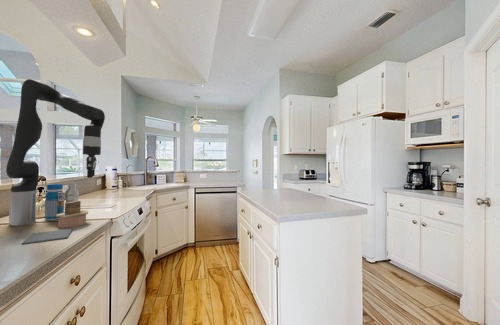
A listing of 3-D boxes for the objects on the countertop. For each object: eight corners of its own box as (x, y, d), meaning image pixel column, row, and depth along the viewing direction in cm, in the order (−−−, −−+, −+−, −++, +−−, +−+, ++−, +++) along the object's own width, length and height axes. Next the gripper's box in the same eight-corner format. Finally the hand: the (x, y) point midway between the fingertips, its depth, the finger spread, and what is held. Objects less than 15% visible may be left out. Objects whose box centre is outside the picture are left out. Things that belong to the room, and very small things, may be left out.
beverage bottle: (44, 221, 119) (45, 185, 119) (44, 218, 124) (44, 183, 124) (65, 218, 125) (65, 184, 125) (63, 216, 130) (63, 183, 130)
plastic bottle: (73, 219, 122) (73, 184, 122) (61, 219, 122) (61, 184, 122) (82, 217, 129) (82, 183, 129) (70, 216, 129) (71, 183, 129)
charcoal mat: (21, 244, 86) (21, 243, 86) (32, 234, 98) (32, 233, 98) (67, 238, 93) (67, 237, 93) (72, 229, 105) (72, 228, 105)
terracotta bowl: (52, 226, 109) (52, 216, 109) (72, 221, 120) (72, 212, 120) (72, 227, 108) (72, 217, 108) (90, 221, 119) (91, 212, 119)
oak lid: (49, 217, 108) (49, 203, 108) (72, 211, 121) (73, 199, 121) (72, 218, 107) (72, 204, 107) (94, 212, 120) (94, 200, 120)
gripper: (85, 145, 116) (83, 175, 116) (80, 144, 104) (79, 178, 104) (101, 146, 120) (100, 175, 120) (99, 145, 108) (98, 178, 108)
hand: (90, 176), depth 112 cm, fingers open, 8 cm apart
